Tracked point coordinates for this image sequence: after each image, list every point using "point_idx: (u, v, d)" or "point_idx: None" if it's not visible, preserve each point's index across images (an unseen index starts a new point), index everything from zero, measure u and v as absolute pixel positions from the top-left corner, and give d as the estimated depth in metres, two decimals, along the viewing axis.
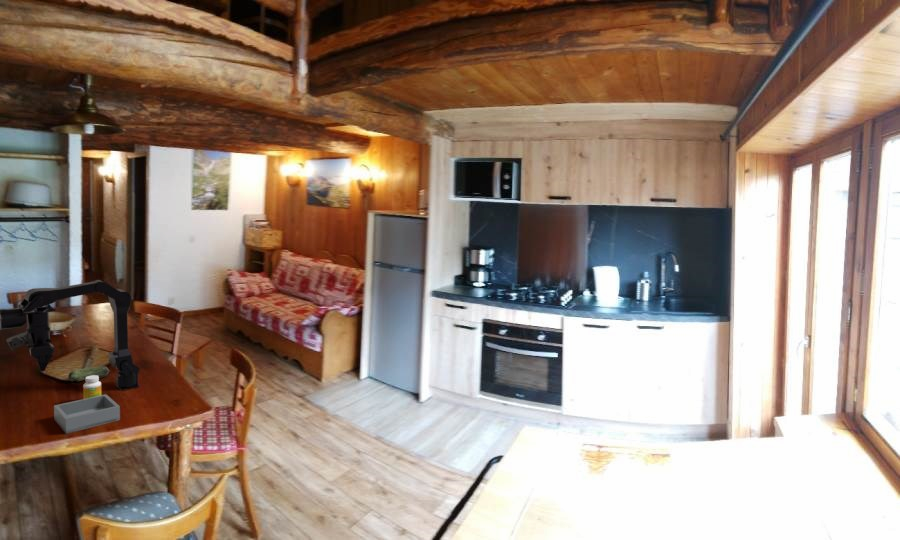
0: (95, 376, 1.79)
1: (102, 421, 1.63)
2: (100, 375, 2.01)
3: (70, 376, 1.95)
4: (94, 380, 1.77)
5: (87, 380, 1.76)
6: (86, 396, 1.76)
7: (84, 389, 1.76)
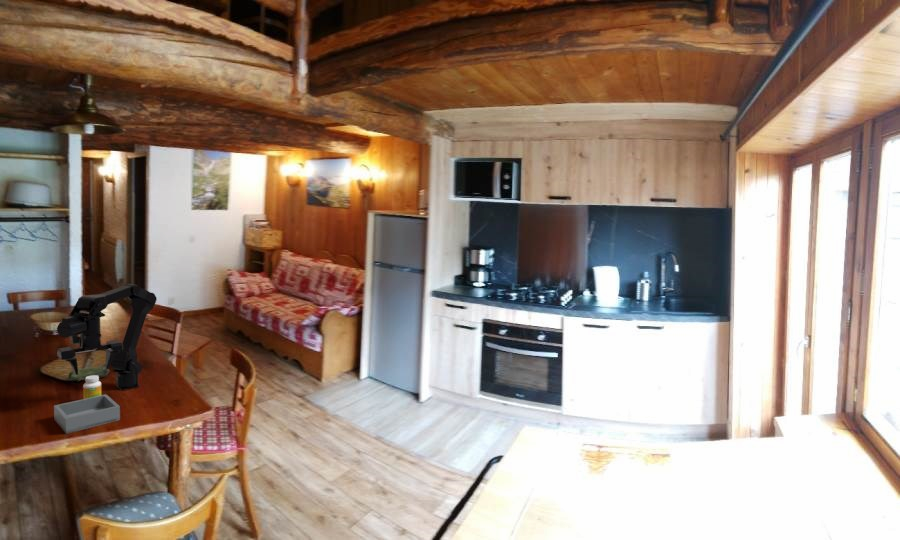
0: (95, 376, 1.79)
1: (102, 421, 1.63)
2: (100, 375, 2.01)
3: (70, 376, 1.95)
4: (94, 380, 1.77)
5: (87, 380, 1.76)
6: (86, 396, 1.76)
7: (84, 389, 1.76)
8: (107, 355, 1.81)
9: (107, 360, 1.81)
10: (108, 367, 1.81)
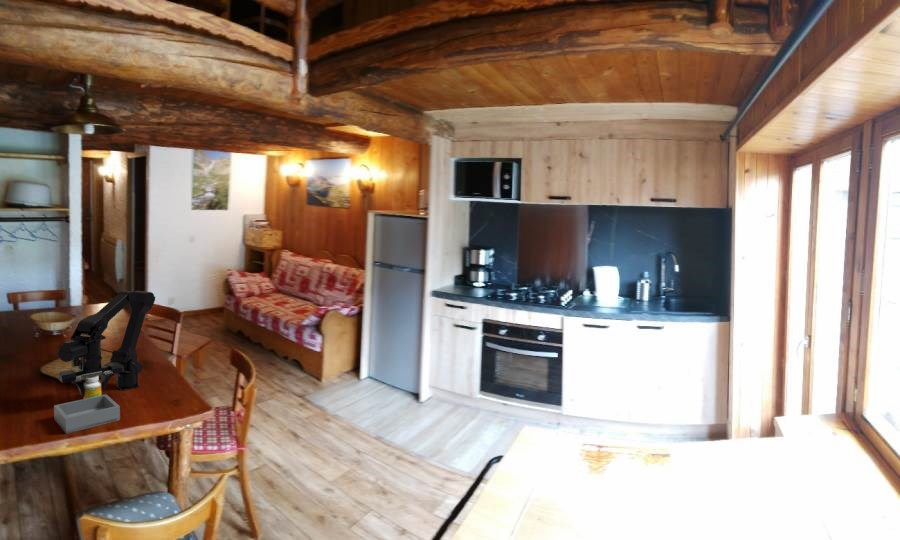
0: (95, 376, 1.79)
1: (102, 421, 1.63)
2: (100, 375, 2.01)
3: None
4: (94, 380, 1.77)
5: (87, 380, 1.76)
6: (86, 396, 1.76)
7: (84, 389, 1.76)
8: (102, 378, 1.81)
9: (102, 383, 1.81)
10: (103, 390, 1.81)
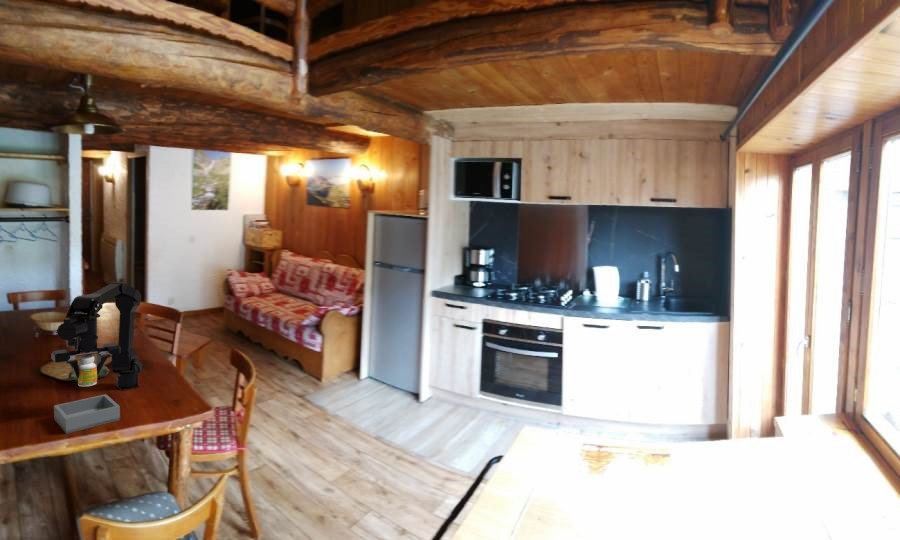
0: (90, 357, 1.69)
1: (102, 421, 1.63)
2: (100, 375, 2.01)
3: (70, 376, 1.95)
4: (89, 361, 1.68)
5: (82, 360, 1.67)
6: (80, 377, 1.67)
7: None
8: (98, 359, 1.71)
9: (98, 365, 1.71)
10: None
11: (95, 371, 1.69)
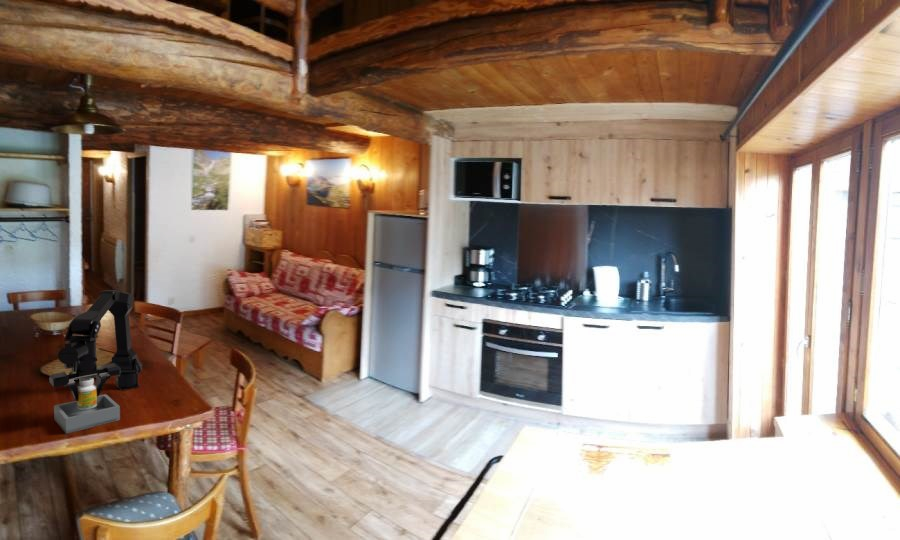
0: (90, 379, 1.65)
1: (102, 421, 1.63)
2: None
3: None
4: (89, 383, 1.63)
5: (81, 383, 1.62)
6: (80, 400, 1.63)
7: (78, 393, 1.62)
8: (97, 381, 1.67)
9: (97, 387, 1.67)
10: (98, 394, 1.67)
11: (95, 393, 1.65)
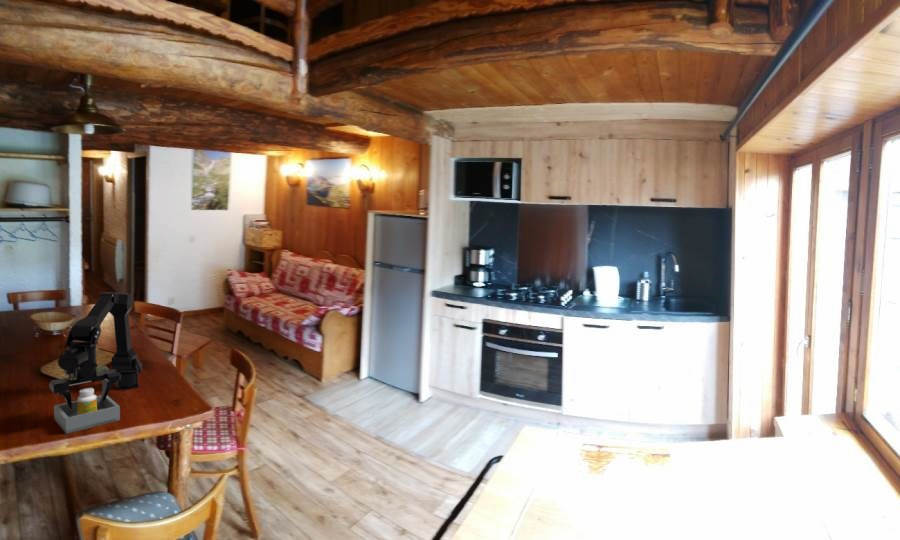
0: (90, 389, 1.65)
1: (102, 421, 1.63)
2: None
3: (70, 375, 1.95)
4: (89, 393, 1.64)
5: (81, 393, 1.63)
6: (80, 410, 1.63)
7: (78, 403, 1.63)
8: (103, 386, 1.68)
9: (103, 391, 1.68)
10: (104, 399, 1.69)
11: (95, 403, 1.66)
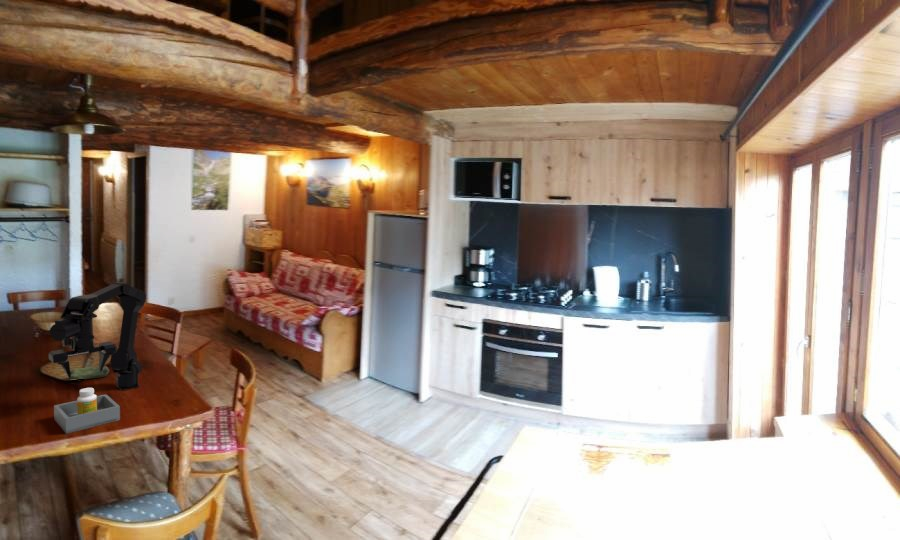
0: (90, 389, 1.66)
1: (102, 421, 1.63)
2: (100, 375, 2.01)
3: None
4: (89, 393, 1.64)
5: (81, 393, 1.63)
6: (80, 410, 1.63)
7: (78, 403, 1.63)
8: (100, 357, 1.76)
9: (100, 362, 1.76)
10: None
11: (95, 403, 1.66)
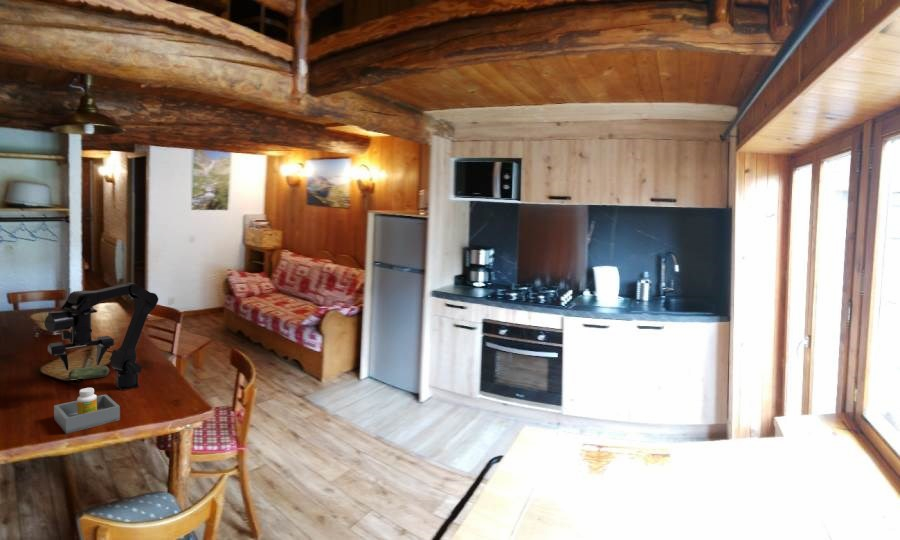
0: (90, 389, 1.66)
1: (102, 421, 1.63)
2: (99, 375, 2.01)
3: (70, 375, 1.96)
4: (89, 393, 1.64)
5: (81, 393, 1.63)
6: (80, 410, 1.63)
7: (78, 403, 1.63)
8: (98, 351, 1.81)
9: (98, 356, 1.81)
10: None
11: (95, 403, 1.66)
